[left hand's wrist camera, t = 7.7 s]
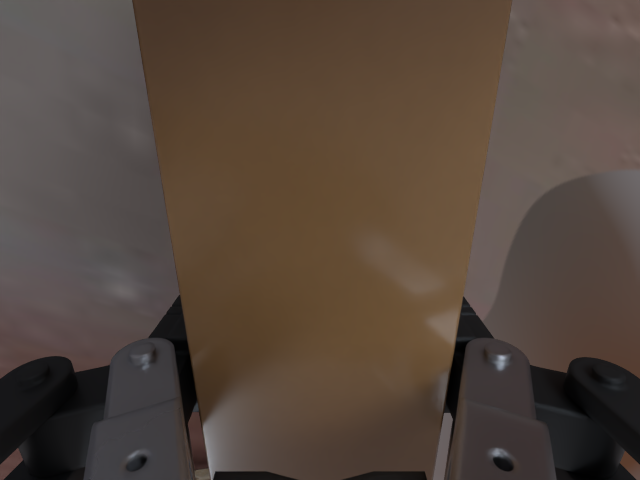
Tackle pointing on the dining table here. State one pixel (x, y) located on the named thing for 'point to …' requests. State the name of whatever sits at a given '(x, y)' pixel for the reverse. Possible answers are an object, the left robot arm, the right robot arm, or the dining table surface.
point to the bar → (321, 216)
